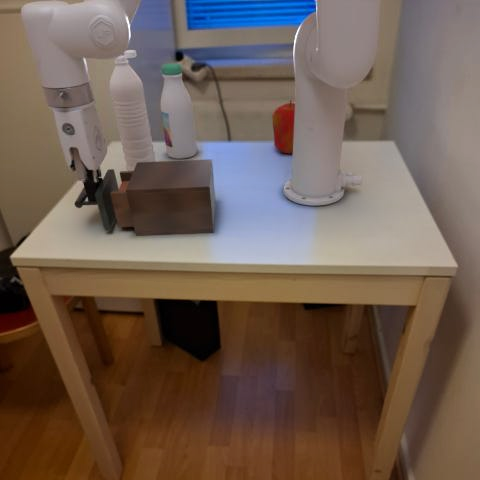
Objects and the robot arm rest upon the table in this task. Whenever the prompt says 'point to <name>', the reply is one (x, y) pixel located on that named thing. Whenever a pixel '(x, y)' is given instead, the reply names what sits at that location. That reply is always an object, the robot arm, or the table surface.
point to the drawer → (110, 201)
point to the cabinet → (172, 197)
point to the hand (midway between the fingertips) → (97, 199)
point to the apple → (284, 127)
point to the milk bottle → (177, 114)
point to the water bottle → (131, 112)
